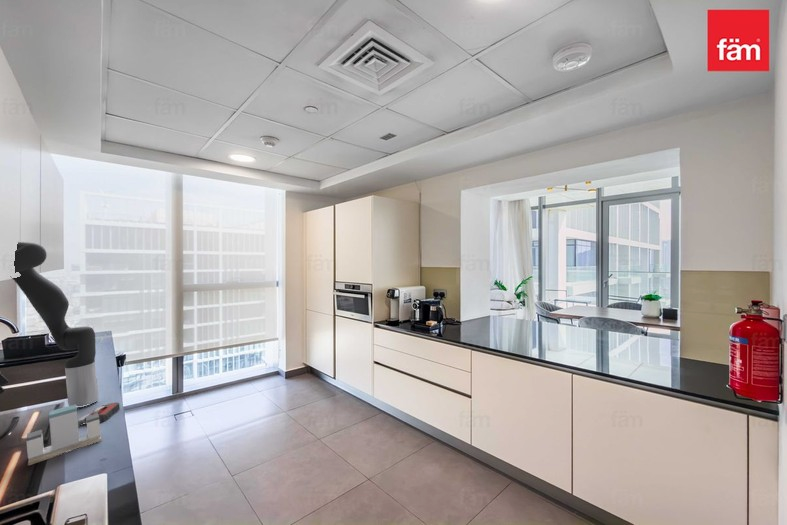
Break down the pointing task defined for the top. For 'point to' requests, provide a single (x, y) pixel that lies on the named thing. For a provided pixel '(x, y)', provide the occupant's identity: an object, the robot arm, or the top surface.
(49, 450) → the rail
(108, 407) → the walkie-talkie
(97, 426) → the mounted modules
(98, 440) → the wood panel
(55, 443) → the block
